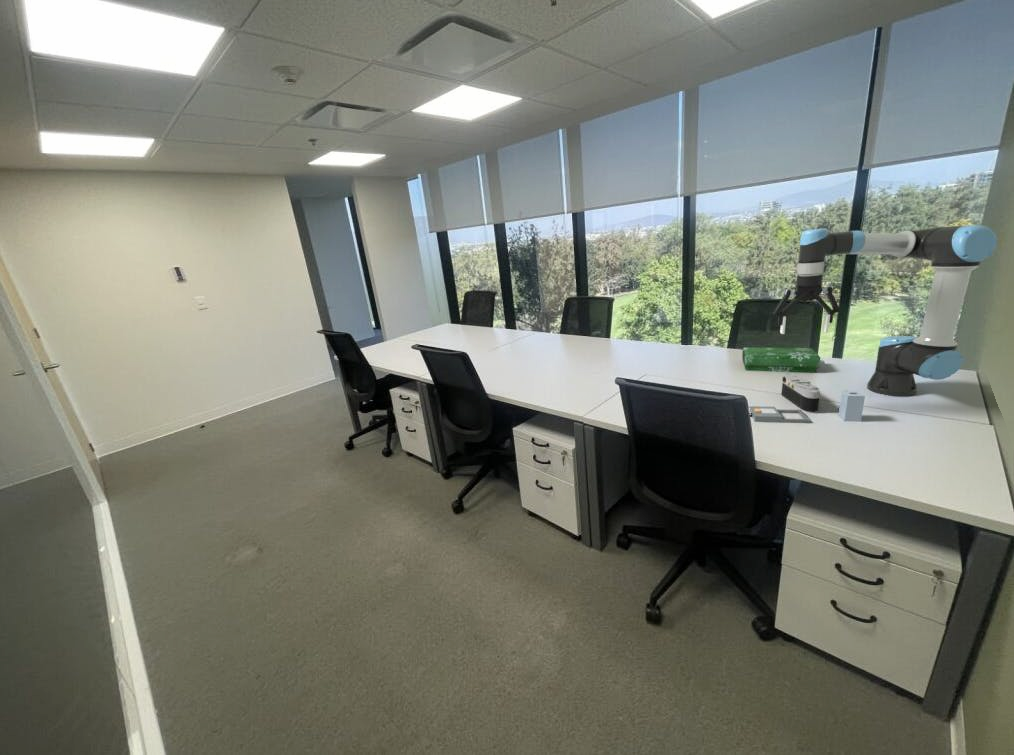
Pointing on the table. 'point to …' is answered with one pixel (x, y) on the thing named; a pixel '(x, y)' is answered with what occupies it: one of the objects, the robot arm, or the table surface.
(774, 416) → the grey rectangular base
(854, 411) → the block
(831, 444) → the table surface
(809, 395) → the camera
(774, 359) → the box
